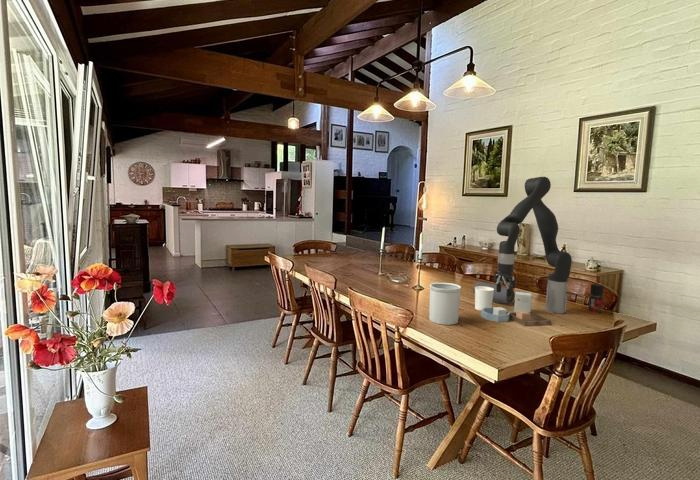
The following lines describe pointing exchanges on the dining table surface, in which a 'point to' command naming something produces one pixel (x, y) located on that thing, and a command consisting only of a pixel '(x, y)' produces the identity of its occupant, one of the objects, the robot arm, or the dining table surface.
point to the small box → (523, 301)
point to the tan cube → (523, 315)
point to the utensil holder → (444, 303)
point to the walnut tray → (531, 320)
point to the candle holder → (483, 297)
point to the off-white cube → (499, 311)
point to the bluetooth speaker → (497, 293)
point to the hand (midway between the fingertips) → (503, 294)
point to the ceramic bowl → (489, 315)
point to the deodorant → (596, 298)
